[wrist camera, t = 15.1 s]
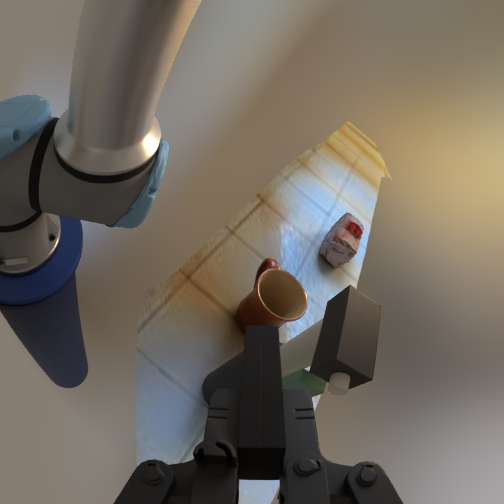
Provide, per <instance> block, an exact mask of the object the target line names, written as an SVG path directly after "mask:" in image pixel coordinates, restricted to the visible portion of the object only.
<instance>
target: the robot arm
mask: <svg viewBox="0 0 504 504" xmlns="http://www.w3.org/2000/svg"><path fill="white" fill-rule="evenodd" d="M200 2H201V0H85V1H84V6H83V10H82V14H81V18H80V23H79V28H78V33H77V39H76V46H75V51H74V58H73V66H72V74H71V83H70V96H69V109H67V110H66V111H65V112H64V113H63V114H62V116H61V117H60V118H56V117H51V116H50V115H51V108H50V105H49V102H48V101H47V100H45V99H44V98H43V97H40V96H36V95H23V96H17V97H13V98H10V99H7V100H4V101H2V102H0V274H1V275H4V276H8V277H23V276H27V275H30V274H33V273H35V272H37V271H39V270H40V269H42V268H43V267H44V266H46V265H47V264H48V263H49V262H50V260H51V259H52V258H53V257H54V255H55V254H56V252H57V250H58V247H59V245H60V241H61V223H60V218H59V216H64V217H69V218H74V219H80V220H85V221H90V222H96V223H100V224H105V225H106V226H108V227H124V228H134V227H137V226H138V225H140V224H141V223H142V222H143V221H144V219H145V218H146V216H147V214H148V212H149V210H150V208H151V206H152V204H153V202H154V199H155V196H156V191H157V190H158V188H159V185H160V183H161V180H162V177H163V174H164V170H165V167H166V163H167V158H168V152H169V147H168V143H167V142H166V140H164V139H162V138H161V130H160V125H159V123H158V121H157V119H156V117H155V116H154V112H155V109H156V106H157V103H158V100H159V97H160V95H161V92H162V89H163V86H164V83H165V81H166V78H167V76H168V73H169V71H170V68H171V66H172V63H173V61H174V59H175V56H176V53H177V51H178V49H179V47H180V44H181V42H182V40H183V37H184V35H185V33H186V31H187V29H188V27H189V24H190V22H191V20H192V18H193V16H194V14H195V12H196V10H197V8H198V6H199V4H200ZM193 456H194V459H193V460H191V461H189V462H185V463H179V464H171V465H168V464H166V463H164V462H163V461H159V460H147V461H145V462H142V463H141V464H140V465H139V466H138V467H137V468H136V469H135V471H134V472H133V474H132V476H131V477H130V479H129V480H128V482H127V483H126V485H125V487H124V488H123V490H122V491H121V493H120V494H119V496H118V497H117V499H116V501H115V502H114V504H238V501H239V479H242V480H279V479H280V490H279V493H278V498H277V499H279V504H403V502H402V501H401V499H400V497H399V496H398V494H397V492H396V490H395V489H394V487H393V485H392V483H391V482H390V480H389V478H388V476H387V475H386V473H385V471H384V470H383V469H382V467H381V466H380V465H378V464H376V463H374V462H367V461H366V462H361V463H358V464H356V465H355V466H353V467H352V466H346V465H340V464H335V463H332V462H330V461H328V460H327V459H326V458H325V457H323V455H322V454H321V452H320V449H319V442H318V436H317V429H316V422H315V415H314V410H313V402H312V397H311V396H310V395H309V393H308V392H307V390H306V389H283V386H282V371H281V357H280V344H279V331H278V326H246V331H245V344H244V358H243V371H242V384H241V389H225V388H217V389H216V391H215V392H214V393H213V395H212V396H211V398H210V404H209V410H208V417H207V422H206V428H205V434H204V440H203V442H201V443H199V444H198V445H197V446H196V447H195V449H194V452H193Z"/></svg>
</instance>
